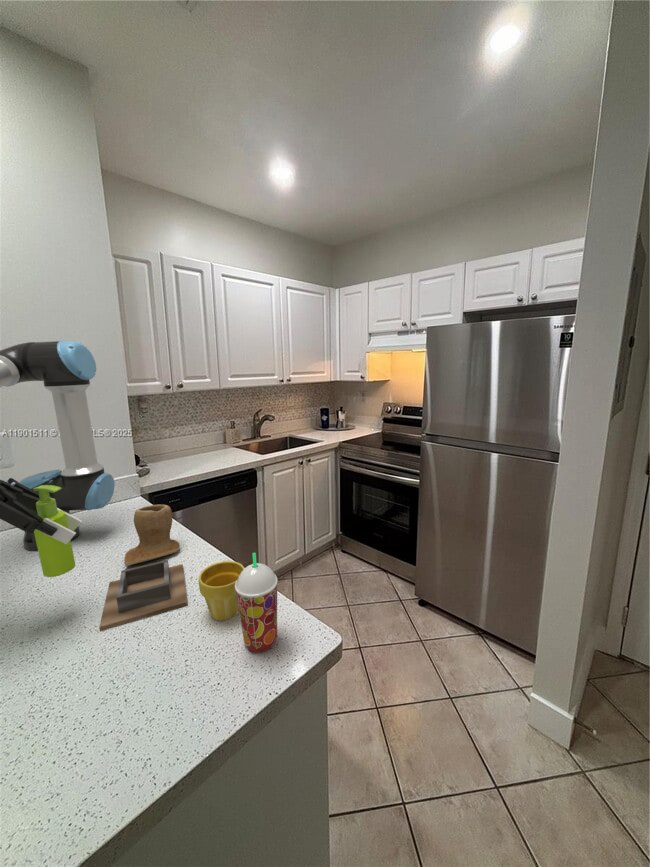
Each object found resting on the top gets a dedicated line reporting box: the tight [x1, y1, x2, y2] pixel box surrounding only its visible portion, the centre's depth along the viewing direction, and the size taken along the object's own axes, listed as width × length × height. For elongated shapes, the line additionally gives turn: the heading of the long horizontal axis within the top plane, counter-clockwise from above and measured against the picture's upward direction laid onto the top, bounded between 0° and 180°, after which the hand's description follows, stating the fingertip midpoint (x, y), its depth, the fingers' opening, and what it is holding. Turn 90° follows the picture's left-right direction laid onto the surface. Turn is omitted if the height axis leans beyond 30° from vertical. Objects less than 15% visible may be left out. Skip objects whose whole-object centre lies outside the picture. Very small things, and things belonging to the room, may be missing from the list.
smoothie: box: [235, 552, 279, 653], centre depth 71 cm, size 8×8×20 cm
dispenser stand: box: [98, 559, 188, 632], centre depth 88 cm, size 18×18×5 cm
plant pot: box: [198, 560, 245, 621], centre depth 81 cm, size 10×10×10 cm
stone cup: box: [123, 504, 181, 567], centre depth 106 cm, size 15×12×15 cm
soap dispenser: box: [33, 485, 76, 578], centre depth 78 cm, size 6×7×20 cm
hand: (74, 532), depth 80 cm, fingers closed on soap dispenser, 6 cm apart
